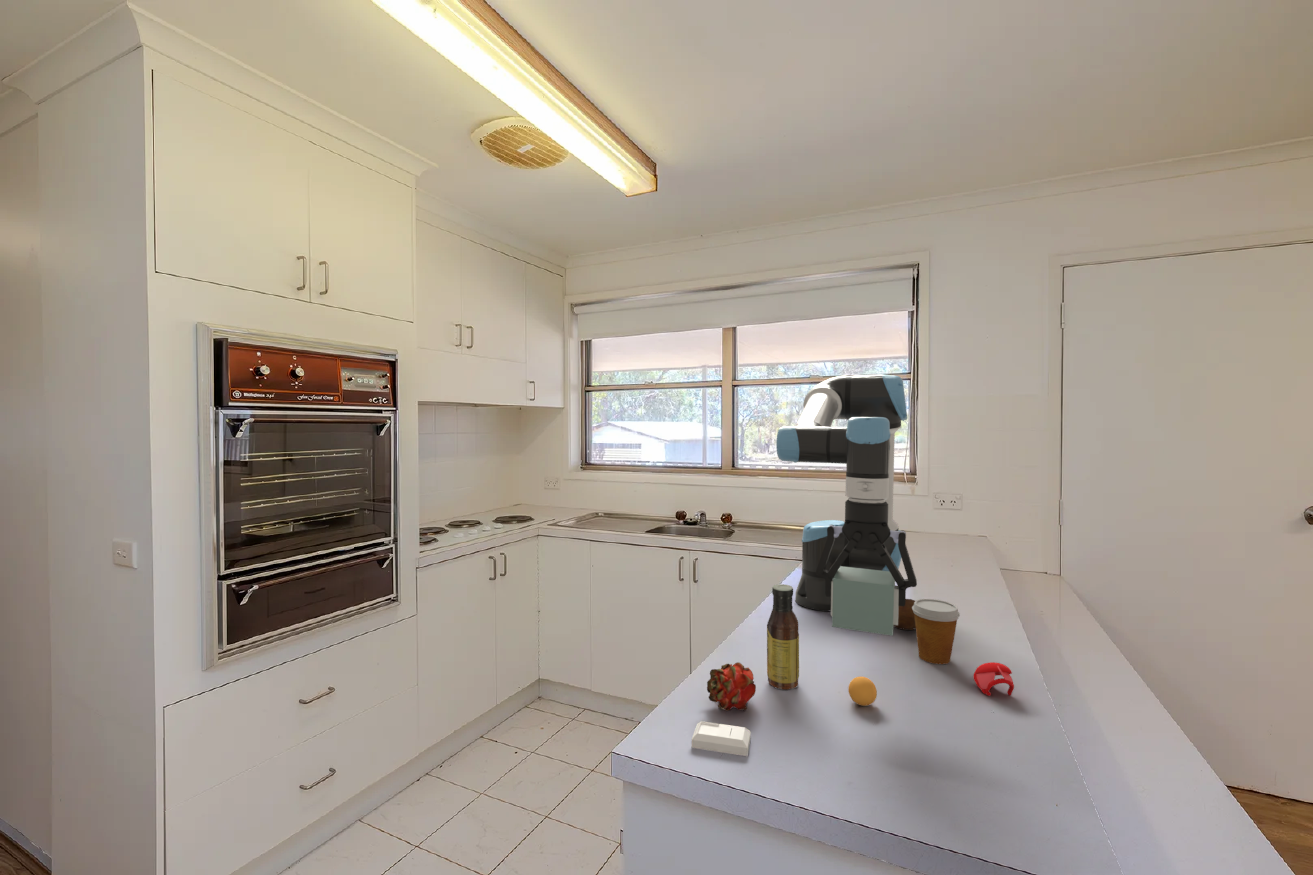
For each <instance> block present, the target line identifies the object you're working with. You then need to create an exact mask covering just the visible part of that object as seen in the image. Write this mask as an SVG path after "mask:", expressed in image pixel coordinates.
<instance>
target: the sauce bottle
mask: <svg viewBox="0 0 1313 875" xmlns="http://www.w3.org/2000/svg"><path fill="white" fill-rule="evenodd" d="M771 588H772V589H771V590H772V596H773V597H772V601H773V602H772V603H773V604H772V609H771V612H770V616H769V618H768V621H767V624H766V670H767V671H766V674H767V681H768V684H769V685H770V686H772V687H773V688H775V689H778V690H783V691H789V690H794V689H795V688H797V687H798V686H799V679H800V678H799V677H800V633H799V621H798V617H797V616H796V614H795V612H794V611H793V609H794V608H793V607H794V606H793V596H794V587H792V585H788V584H774V585H773V586H772V587H771Z"/></svg>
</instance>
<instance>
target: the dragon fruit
mask: <svg viewBox="0 0 1313 875" xmlns="http://www.w3.org/2000/svg"><path fill="white" fill-rule="evenodd" d="M709 675H710V678H709V679H708V680H707V682H706V685H707V686H706V690H707V693H709V695H708V699H709V701H710V702H713V703H718V705H717V707H718V709H721V710H724V711H725V712H728V711H731V710H732V708H735V709H737V710H742V711H746V710H747V704H748V702H749V701H750V700H751V699H752V698H753V697H754V696H755V694H756V691H757V689H756V688H757V687H756V684H755V680H754V679H755V678H754V674H753V670H751V669H750V667H745V666H744V665H743V664H742V663H741V662H739V661H738V662H735V663H734V664H732V663H725V664H723V665H721V668H717V669H715V668H714V669H711V670H710V671H709Z"/></svg>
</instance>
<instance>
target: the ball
mask: <svg viewBox="0 0 1313 875" xmlns="http://www.w3.org/2000/svg"><path fill="white" fill-rule="evenodd" d="M847 689H848V695H849V697H850V699H851V700H852V702H854V703H855V704H857V705H859V706H862V707H867V706H870V705H872V704H873V703H874V702H875V700H876V699H877V697H878V696H877V694H878V690H877V687H876V685H875V684H874V682H873V681H872V680H871V679H870V678H868V677H866V676H856V677H854V678H852V679H851V681H849V684H848V687H847Z"/></svg>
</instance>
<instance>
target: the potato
mask: <svg viewBox="0 0 1313 875" xmlns="http://www.w3.org/2000/svg"><path fill="white" fill-rule="evenodd" d="M915 601H916V600H915V599H911V598H906V600H905V606H899V607H898V625H894V627H893V628H895V629H900V630H905V631H913V630H916V625H915V615H914V612H913V610H912V606H913V605H914V602H915Z"/></svg>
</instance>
